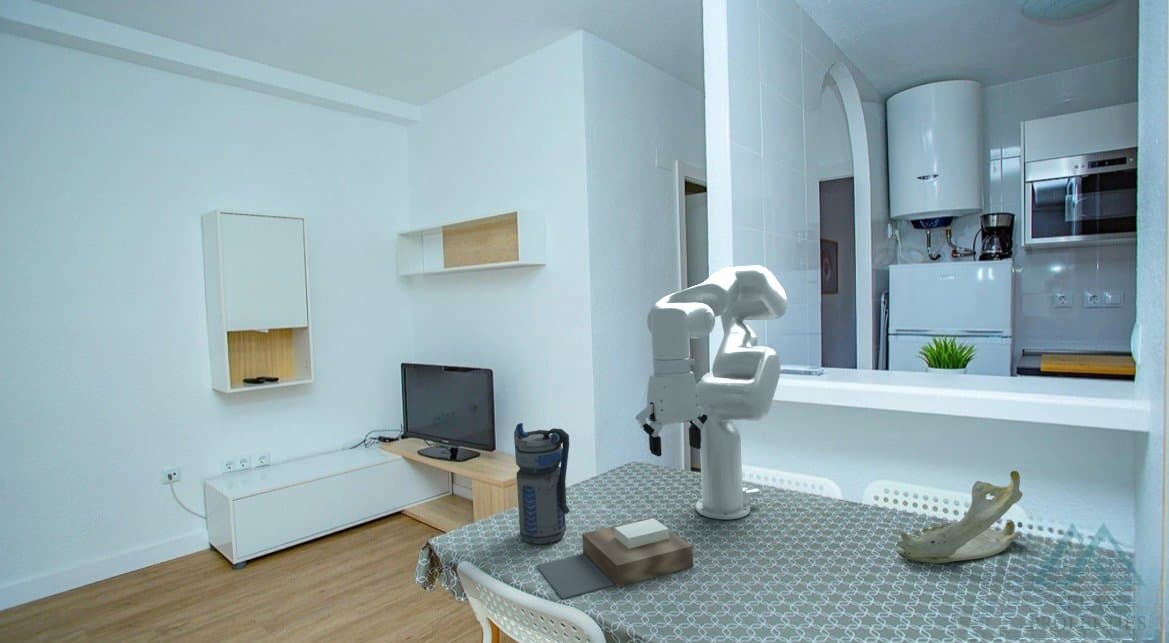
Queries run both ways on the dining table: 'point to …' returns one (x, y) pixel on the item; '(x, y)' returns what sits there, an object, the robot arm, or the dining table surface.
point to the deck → (635, 556)
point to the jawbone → (967, 528)
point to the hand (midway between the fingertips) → (675, 450)
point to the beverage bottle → (541, 483)
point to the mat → (574, 576)
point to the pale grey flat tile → (641, 533)
